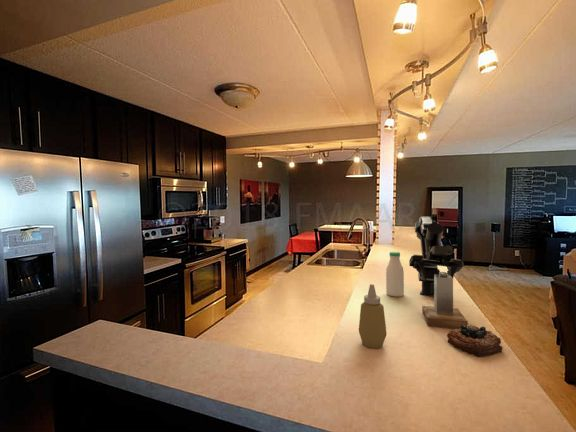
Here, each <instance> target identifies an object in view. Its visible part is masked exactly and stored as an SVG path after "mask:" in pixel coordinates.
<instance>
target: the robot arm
mask: <svg viewBox="0 0 576 432" xmlns="http://www.w3.org/2000/svg"><path fill="white" fill-rule="evenodd" d="M414 232H415V233H416V238H417V239H419V240H420V249H421V254H413V253H412V255H411V256H410V258H409V260H408V261H409V263H408V264H409V266H410V267H411V268H413V269H415V270H416V271H417V272H418V273H417V279H418V282H421V290H420V293H419V294H420V295H422V296H423V295H424V296H431V297H434V274H439V272H441V271H440V269H439V268H438V266H439V267H446V268H447V271H446V273H448V275H450V276H451V277H452V278H453V279H454V277H455V275H456V273H458V272H460V271H461V270H462V268H463V267H464V262H463V260H462V259H457V258H451V259H449V261H444V260H445V259H446V256H448V255H453V247H452V245H446V246H443V245H441V240H442V237H443V233H444V232H445V228H444V226H443V225H442V224H441V223H439V222H438V221H437V220H433V219H432V217H431V216H420V217H419V219H418V220H417V221H416V222H415V225H414Z"/></svg>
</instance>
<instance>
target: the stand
mask: <svg viewBox="0 0 576 432" xmlns="http://www.w3.org/2000/svg"><path fill="white" fill-rule="evenodd" d="M421 307H422V310H421V311H422V315H423V318H424V321H425V323H426V326H427V327H432V328H443V329H451V330H453V329H461V325H464V326H466V327H467V326H469V323H468V322H469V321H468V320H467V319H466V317H465V316H464V315H463V313H462V312H461V310H459V308H454V307H453V316H451V315H441V314H437V313H436V311H435V309H434V306H431V305H429V306H428V305H422V306H421Z"/></svg>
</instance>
